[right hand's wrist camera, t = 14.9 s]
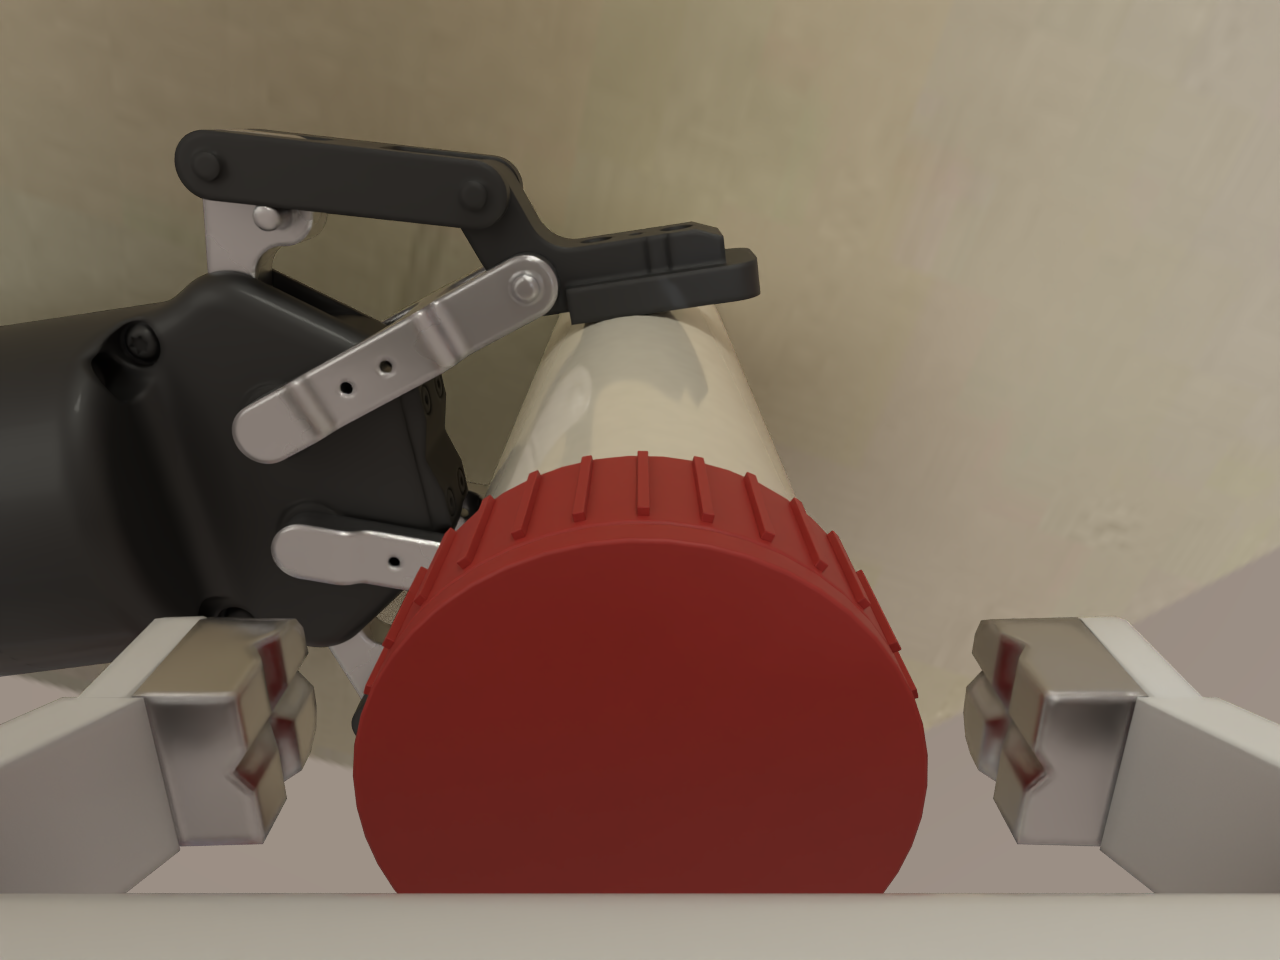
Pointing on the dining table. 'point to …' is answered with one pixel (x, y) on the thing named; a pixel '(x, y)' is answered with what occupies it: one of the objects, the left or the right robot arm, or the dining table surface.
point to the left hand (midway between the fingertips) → (762, 398)
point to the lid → (640, 698)
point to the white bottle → (640, 400)
